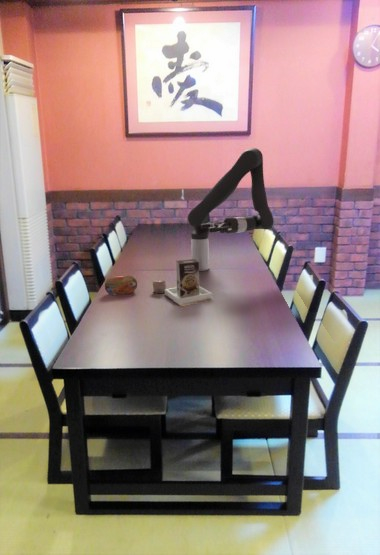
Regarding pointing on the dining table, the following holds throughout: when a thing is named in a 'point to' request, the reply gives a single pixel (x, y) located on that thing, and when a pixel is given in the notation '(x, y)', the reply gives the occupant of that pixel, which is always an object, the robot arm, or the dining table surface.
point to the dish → (202, 296)
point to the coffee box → (187, 278)
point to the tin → (120, 285)
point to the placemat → (195, 302)
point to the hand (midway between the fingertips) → (205, 228)
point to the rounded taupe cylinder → (159, 286)
